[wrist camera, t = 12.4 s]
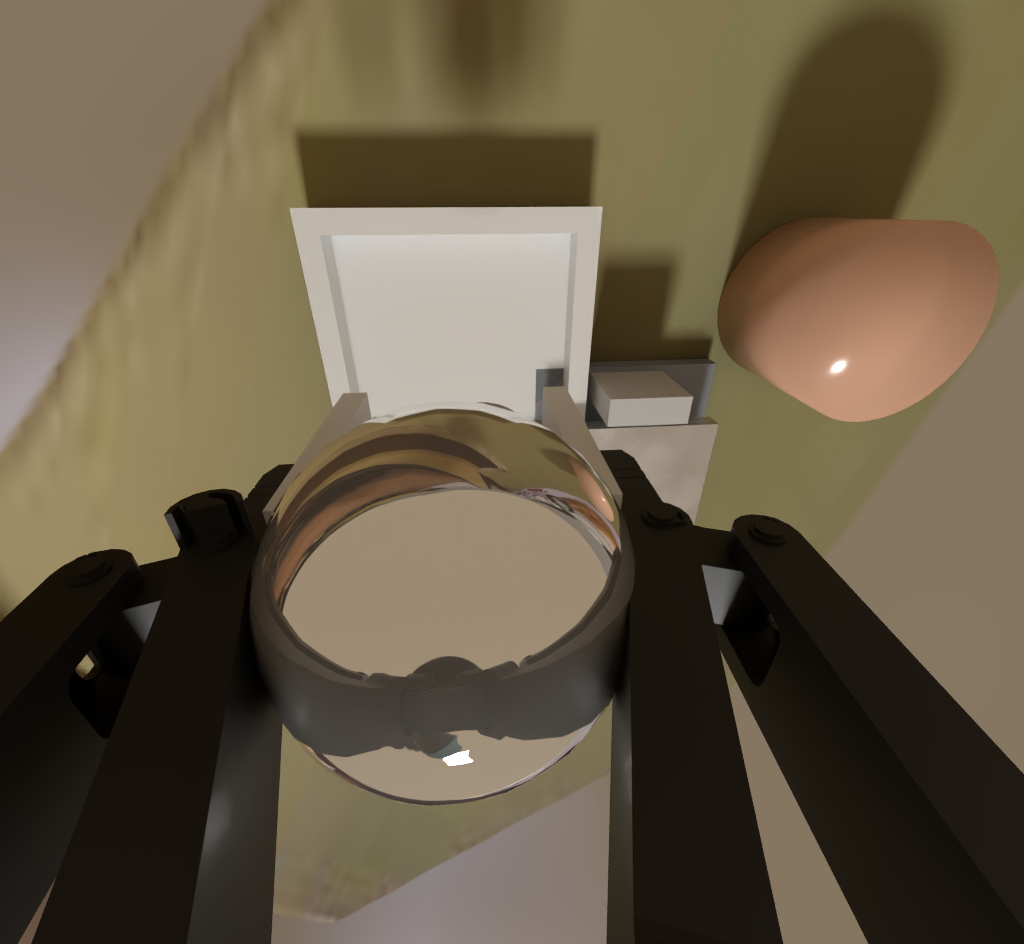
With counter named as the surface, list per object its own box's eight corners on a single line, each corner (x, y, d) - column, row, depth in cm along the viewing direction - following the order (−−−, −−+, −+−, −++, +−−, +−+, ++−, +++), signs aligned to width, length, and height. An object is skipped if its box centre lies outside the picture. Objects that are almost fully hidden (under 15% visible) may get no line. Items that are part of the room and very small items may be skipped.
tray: (358, 458, 27) (348, 480, 25) (308, 208, 21) (289, 208, 18) (571, 449, 28) (580, 469, 26) (588, 206, 22) (602, 206, 19)
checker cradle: (529, 557, 32) (539, 611, 28) (533, 363, 25) (547, 395, 21) (666, 549, 33) (696, 600, 29) (707, 358, 26) (755, 388, 22)
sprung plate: (542, 552, 29) (545, 563, 28) (547, 422, 24) (550, 430, 23) (679, 544, 29) (686, 554, 29) (710, 416, 25) (718, 424, 24)
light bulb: (512, 293, 14) (457, 367, 4) (621, 458, 17) (796, 819, 6) (354, 412, 16) (0, 705, 5) (472, 547, 19) (389, 950, 8)
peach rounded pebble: (703, 375, 26) (774, 424, 20) (737, 217, 22) (837, 221, 16) (833, 371, 27) (939, 418, 21) (889, 216, 23) (1041, 219, 17)
